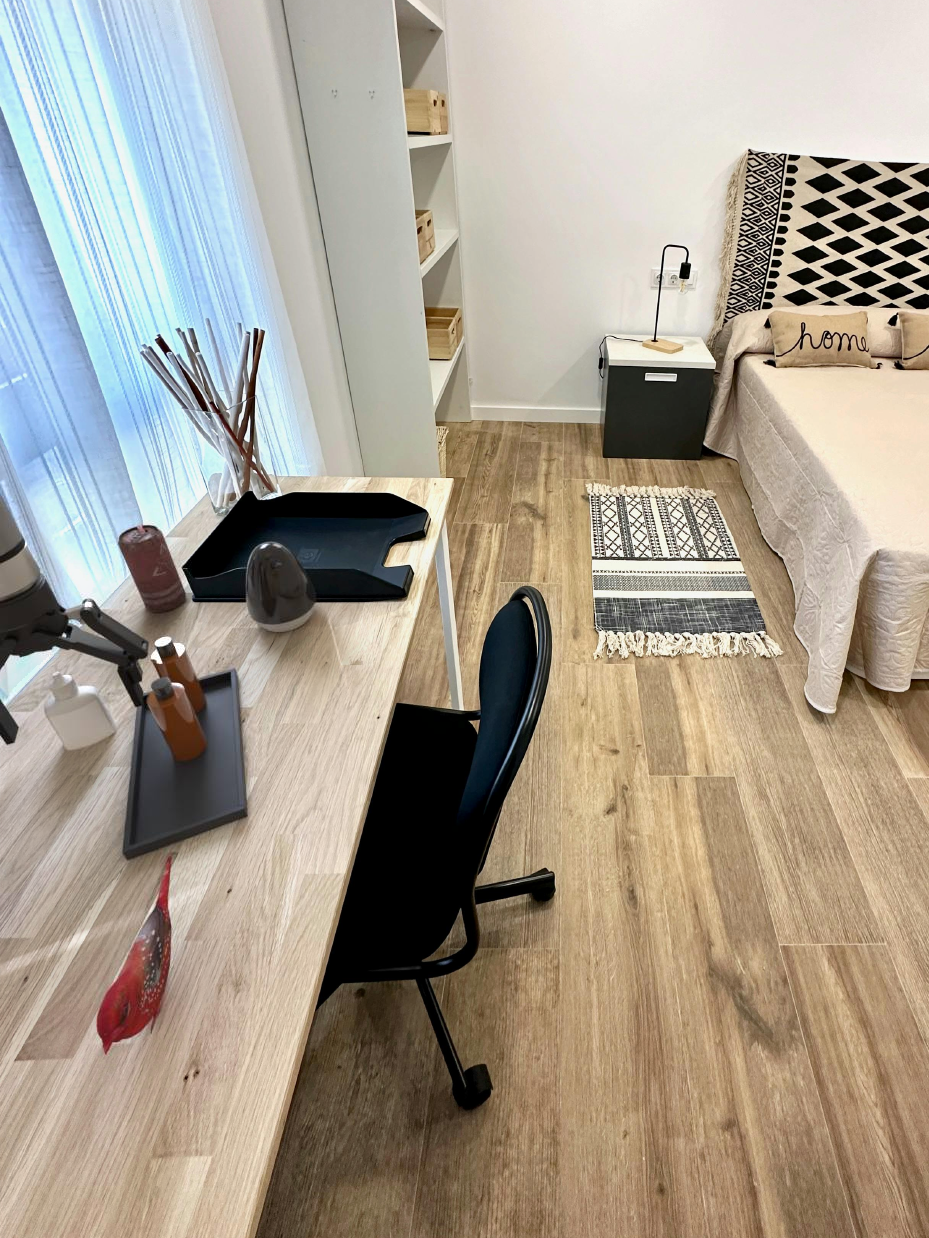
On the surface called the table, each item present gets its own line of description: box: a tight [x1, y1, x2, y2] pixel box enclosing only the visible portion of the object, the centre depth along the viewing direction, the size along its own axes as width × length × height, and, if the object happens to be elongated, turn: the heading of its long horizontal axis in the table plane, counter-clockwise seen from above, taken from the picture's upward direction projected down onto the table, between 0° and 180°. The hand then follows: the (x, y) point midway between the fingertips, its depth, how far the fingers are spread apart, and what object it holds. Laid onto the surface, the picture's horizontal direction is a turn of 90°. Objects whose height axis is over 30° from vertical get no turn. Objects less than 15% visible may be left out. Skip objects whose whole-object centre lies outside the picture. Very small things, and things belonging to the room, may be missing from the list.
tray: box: [121, 667, 249, 861], centre depth 82 cm, size 25×12×2 cm, turn 27°
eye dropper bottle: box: [43, 671, 117, 751], centre depth 81 cm, size 4×6×12 cm
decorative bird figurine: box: [96, 855, 173, 1056], centre depth 58 cm, size 3×18×10 cm, turn 15°
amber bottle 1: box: [150, 636, 207, 714], centre depth 85 cm, size 4×4×12 cm
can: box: [117, 524, 187, 613], centre depth 104 cm, size 6×6×14 cm
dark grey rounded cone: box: [244, 541, 317, 633], centre depth 101 cm, size 10×10×15 cm
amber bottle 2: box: [147, 677, 207, 761], centre depth 79 cm, size 4×4×12 cm
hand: (78, 717), depth 82 cm, fingers open, 13 cm apart
